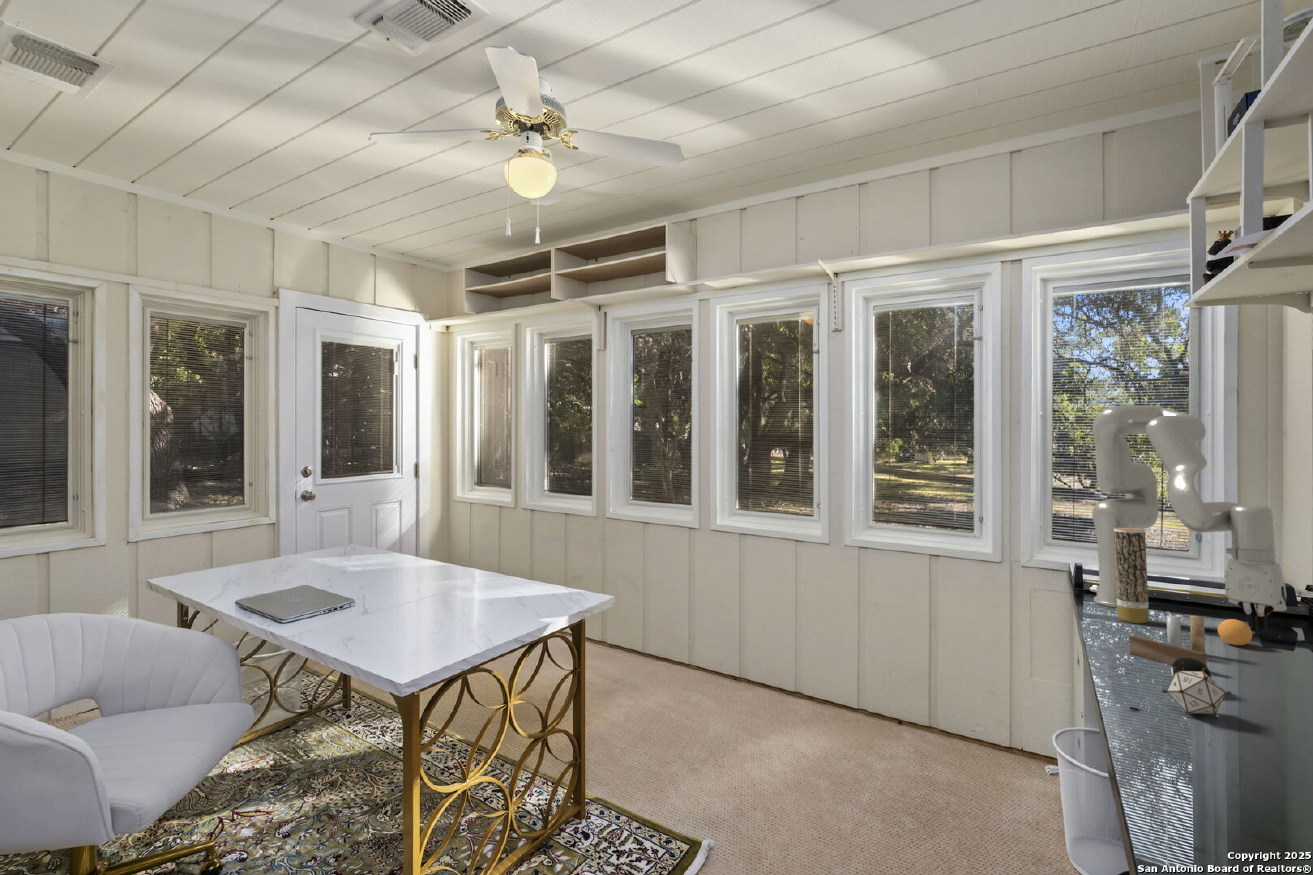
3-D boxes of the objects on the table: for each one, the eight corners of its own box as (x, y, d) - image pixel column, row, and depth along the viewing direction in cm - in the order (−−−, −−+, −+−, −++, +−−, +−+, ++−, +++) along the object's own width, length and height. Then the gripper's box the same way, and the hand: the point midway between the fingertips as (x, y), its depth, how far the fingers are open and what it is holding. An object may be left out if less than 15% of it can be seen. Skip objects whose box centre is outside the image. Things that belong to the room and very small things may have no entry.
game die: (1184, 734, 111) (1139, 682, 115) (1209, 709, 114) (1165, 659, 118) (1230, 728, 103) (1180, 673, 107) (1256, 702, 106) (1207, 649, 110)
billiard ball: (1168, 681, 126) (1167, 651, 126) (1207, 686, 123) (1205, 656, 123) (1175, 691, 121) (1174, 660, 121) (1215, 697, 118) (1214, 665, 118)
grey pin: (1165, 652, 142) (1163, 615, 143) (1173, 651, 143) (1172, 615, 143) (1176, 656, 140) (1174, 618, 140) (1184, 655, 141) (1182, 617, 141)
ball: (1211, 642, 149) (1210, 617, 149) (1230, 639, 150) (1229, 615, 150) (1240, 649, 143) (1238, 623, 143) (1259, 647, 144) (1258, 621, 145)
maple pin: (1188, 653, 142) (1187, 616, 142) (1196, 652, 142) (1195, 615, 143) (1200, 656, 139) (1198, 618, 140) (1208, 655, 140) (1206, 617, 140)
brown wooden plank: (1134, 652, 143) (1133, 635, 143) (1207, 672, 130) (1206, 653, 130) (1130, 653, 142) (1129, 636, 143) (1203, 673, 130) (1202, 654, 130)
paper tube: (1155, 624, 165) (1151, 530, 165) (1129, 624, 165) (1125, 531, 165) (1136, 617, 172) (1132, 527, 172) (1111, 617, 172) (1107, 527, 172)
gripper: (1207, 552, 156) (1212, 625, 156) (1285, 561, 142) (1291, 641, 142) (1224, 550, 159) (1228, 622, 158) (1302, 558, 145) (1307, 636, 145)
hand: (1258, 630), depth 150 cm, fingers closed
